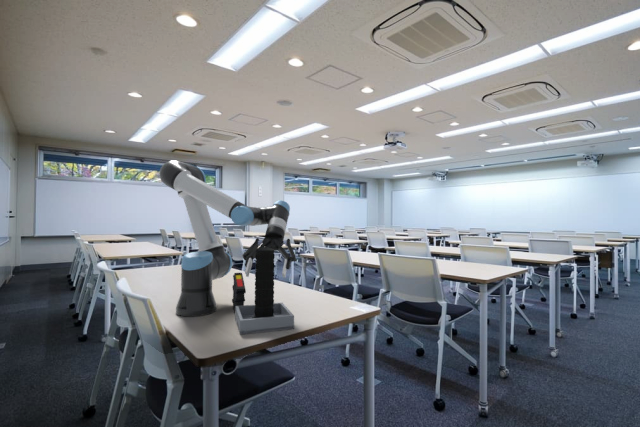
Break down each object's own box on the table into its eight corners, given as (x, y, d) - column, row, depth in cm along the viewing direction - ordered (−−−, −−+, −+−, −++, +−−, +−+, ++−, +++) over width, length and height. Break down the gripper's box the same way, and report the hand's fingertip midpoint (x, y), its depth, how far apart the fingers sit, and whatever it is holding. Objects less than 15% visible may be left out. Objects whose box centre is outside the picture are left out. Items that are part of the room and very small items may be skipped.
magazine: (240, 300, 139) (242, 272, 133) (243, 322, 128) (246, 291, 122) (231, 301, 137) (233, 272, 132) (234, 323, 126) (236, 292, 120)
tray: (239, 334, 103) (240, 320, 103) (235, 318, 120) (235, 306, 120) (293, 328, 109) (294, 315, 109) (282, 313, 126) (282, 302, 126)
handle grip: (274, 325, 109) (280, 316, 119) (275, 248, 109) (281, 245, 119) (245, 324, 110) (254, 315, 120) (247, 247, 110) (255, 245, 120)
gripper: (307, 238, 131) (300, 282, 116) (248, 236, 133) (234, 279, 118) (305, 225, 125) (298, 270, 110) (243, 224, 128) (228, 267, 113)
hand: (265, 275), depth 114 cm, fingers open, 13 cm apart
